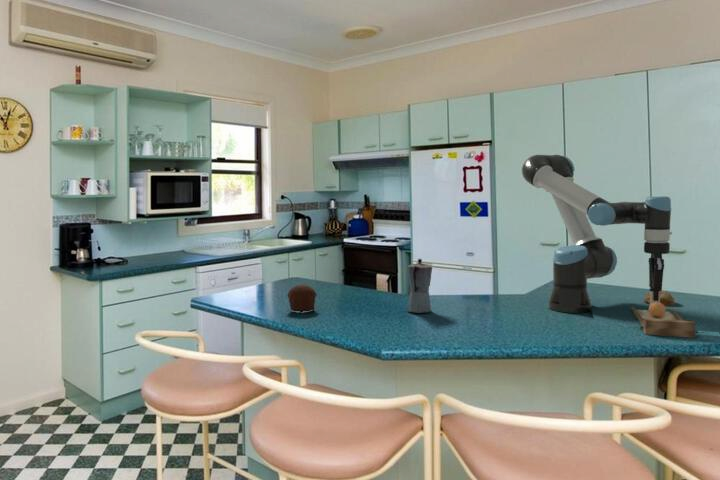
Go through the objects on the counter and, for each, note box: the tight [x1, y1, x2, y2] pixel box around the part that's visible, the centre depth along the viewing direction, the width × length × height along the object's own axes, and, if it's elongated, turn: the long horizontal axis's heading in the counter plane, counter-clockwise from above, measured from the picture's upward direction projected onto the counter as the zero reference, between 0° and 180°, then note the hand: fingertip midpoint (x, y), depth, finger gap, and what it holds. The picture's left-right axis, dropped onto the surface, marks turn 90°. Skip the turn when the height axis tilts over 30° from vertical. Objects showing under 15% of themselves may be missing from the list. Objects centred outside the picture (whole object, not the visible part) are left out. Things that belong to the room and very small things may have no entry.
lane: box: [630, 306, 697, 339], centre depth 163 cm, size 13×29×4 cm, turn 159°
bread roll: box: [643, 289, 676, 307], centre depth 188 cm, size 10×10×8 cm
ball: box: [648, 302, 667, 317], centre depth 168 cm, size 5×5×5 cm
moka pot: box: [406, 258, 433, 314], centre depth 187 cm, size 10×15×20 cm, turn 164°
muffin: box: [286, 284, 318, 312], centre depth 193 cm, size 12×11×10 cm
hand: (654, 309), depth 172 cm, fingers closed
